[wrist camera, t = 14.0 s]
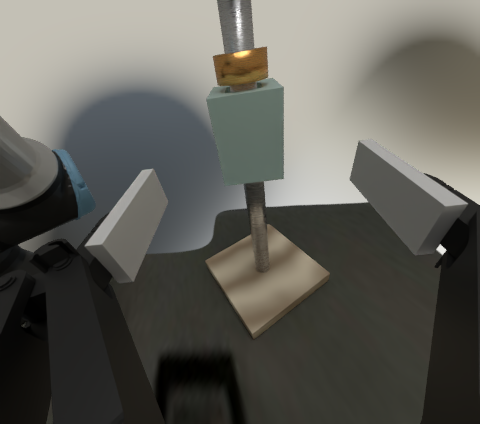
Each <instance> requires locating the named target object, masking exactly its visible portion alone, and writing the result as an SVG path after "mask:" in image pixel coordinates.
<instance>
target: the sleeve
mask: <svg viewBox="0 0 480 424" xmlns="http://www.w3.org/2000/svg"><path fill="white" fill-rule="evenodd" d="M283 91H284V88H283V86H281V85H280V84H279V83H278V82H277V81H276V80H274V79H273V78H270V79H263V80H260V81H257V88H256V89H250V90H243V91H237V92H231V93H230V86H220V87H214V88H213V89H212V91H211V92H210V94H209V96H208V98H207V105H208V109H209V114H210V119H211V124H212V128H213V133H214V138H215V142H216V146H217V151H218V156H219V161H220V166H221V170H222V175H223V180H224V184H225V186H229V185H237V184H246V183H254V182H262V181H269V180H278V179H283V178H284V176H283V175H284V168H283V166H284V161H283V160H284V156H283V155H284V149H283V148H284V147H283V146H284V140H283V139H284V138H283V136H284V135H283V134H284V133H283V132H284V131H283V130H284V125H283V124H284V122H283V121H284V119H283V116H284V115H283V113H284V107H283V106H284V105H283V104H284V100H283V99H284V97H283V96H284V92H283Z"/></svg>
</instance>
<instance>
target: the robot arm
mask: <svg viewBox="0 0 480 424" xmlns="http://www.w3.org/2000/svg"><path fill="white" fill-rule="evenodd" d="M350 181H351V182H352V183H353V184H354V185H355V186H356V188H357V189H358V190H359V191H360V192H361V193H362V195H363V196H364V197H365V198H366V199H367V200H368V202H369V203H370V204H371V205H372V206H373V207H374V208H375V210H376V211H377V212H378V213H379V214H380V215H381V217H382V218H383V219H384V220H385V221H386V222H387V224H388V225H389V226H390V227H391V228H392V229H393V230H394V232H395V233H396V234H397V235H398V236H399V237H400V239H401V240H402V241H403V242H404V243H405V244H406V246H407V247H408V248H409V249H410V250H411V251H412V253H413V254H414V255H422V254H433V253H434V252H435V250H436V249H437V247H438V246H439V245H440V244H441V245H442V246H443V247H444V248H445V249H446V250H447V251H446V252H445V253H444V254H443V256H442V257H441V258H440V260H439V261H438V262H437V263H436V265H435V268H438V267H439V266H440V265H441V273H440V281H439V289H438V297H437V305H436V313H435V321H434V329H433V337H432V345H431V353H430V361H429V369H428V377H427V385H426V393H425V401H424V409H423V416H422V420H421V423H420V424H480V205H478V204H477V203H475V202H474V201H472V200H471V199H469V198H467V197H466V196H464V195H463V194H461V193H460V192H458V191H457V190H454V188H452V187H451V186H449V185H446V183H444V182H443V181H441V180H439V179H438V178H436V177H433V176H431V175H428V174H425V173H421V172H420V171H419V170H417V169H416V168H414V167H413V166H411V165H410V164H408V163H407V162H405V161H404V160H402V159H401V158H399V157H398V156H396V155H395V154H393V153H392V152H390V151H389V150H387V149H386V148H384V147H383V146H381V145H380V144H379V143H377V142H375V141H374V140H372V139H368V140H360V141H359V142H358V146H357V150H356V155H355V159H354V163H353V168H352V172H351V176H350ZM167 204H168V200H167V198H166V196H165V194H164V191H163V189H162V187H161V185H160V182H159V180H158V178H157V176H156V173H155V171H154V169H148V170H142V172H141V173H140V174H139V175H138V177H137V178H136V179H135V181H134V182H133V183H132V185H131V186H130V187H129V188H128V190H127V191H126V192H125V194H124V195H123V196H122V198H121V199H120V200H119V202H118V203H117V204H116V205H115V207H114V208H113V209H112V211H111V212H110V213H108V214H107V215H105V216H104V217H103V218H101V219H100V220H99V222H98V223H97V224H96V226H95V227H94V228H93V229H92V231H91V233H89V234H88V236H87V237H86V238H85V239H84V241H83V242H82V243H81V245H80V246H79V247H78V248H77V250H76V249H74V247H73V246H72V245H71V244H70V243H69V242H68V241H67V240H66V239H57V240H54V241H51V242H48V243H47V244H45V245H43V246H41V247H40V248H39V249H37V250H36V251H35V252H34V253H33V252H30V251H27V250H24V249H22V248H21V247H19V246H18V244H20V243H22V242H25V241H27V240H29V239H32V238H33V237H36V236H38V235H41V234H43V233H45V232H48V231H50V230H52V229H54V228H56V227H59V226H61V225H63V224H66V223H68V222H71V221H73V220H78V219H80V217H82V216H84V215H86V214H88V213H90V212H91V211H93V210H94V209H95V206H96V203H95V200H94V198H93V197H92V195H91V193H90V191H89V189H88V187H87V186H86V184H85V182H84V180H83V178H82V176H81V175H80V173H79V171H78V169H77V167H76V166H75V164H74V162H73V160H72V159H71V157H70V155H69V154H68V152H67V151H66V150H62V149H61V150H52V151H51V150H50V149H49V148H48V147H47V146H45V145H44V144H42V143H40V142H38V141H35V140H32V139H28V138H24V137H21V136H20V135H19V134H18V133H17V132H16V131H15V130H14V129H13V128H12V127H11V126H10V125H9V124H8V123H7V122H6V121H5V120H4V119H3V118H2V117H1V116H0V424H46V421H47V416H48V410H49V405H50V400H51V394H52V410H53V424H165V422H164V419H163V417H162V414H161V411H160V409H159V406H158V404H157V401H156V399H155V396H154V393H153V391H152V388H151V386H150V383H149V380H148V378H147V375H146V373H145V370H144V368H143V365H142V362H141V360H140V357H139V355H138V352H137V350H136V347H135V344H134V342H133V339H132V337H131V334H130V332H129V329H128V326H127V324H126V321H125V319H124V316H123V313H122V311H121V308H120V306H119V303H118V301H117V298H116V295H115V293H114V290H113V288H112V286H111V285H110V284H109V281H110V280H111V278H112V277H113V278H114V279H115V280H116V281H117V282H118V283H126V282H134V279H135V277H136V275H137V272H138V270H139V268H140V266H141V263H142V261H143V259H144V257H145V254H146V252H147V250H148V247H149V245H150V242H151V240H152V238H153V236H154V234H155V231H156V229H157V227H158V225H159V222H160V220H161V217H162V215H163V213H164V211H165V209H166V206H167ZM25 321H27V322H26V325H25V327H21V324H22V323H24V322H25Z"/></svg>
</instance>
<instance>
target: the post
mask: <svg viewBox="0 0 480 424" xmlns="http://www.w3.org/2000/svg"><path fill="white" fill-rule="evenodd" d="M217 3H218V10H219V17H220V23H221V31H222V37H223V44H224V51H225V54H221V55H215V56H213V60H214V66H215V72H216V77H217V83H218V85H219V86H230V93H231V92H237V91H243V90H250V89H256V88H257V81H260V80H263V79H266V78H268V61H267V47H261V48H255V49H254V38H253V23H252V9H251V0H217ZM244 190H245V196H246V204H247V211H248V218H249V224H250V231H251V238H252V245H253V252H254V259H255V266H256V270H257V271H258V272H261V273H265V272H267V271H268V270H269V269H270V262H269V248H268V234H267V220H266V206H265V192H264V181H262V182H254V183H246V184H244Z"/></svg>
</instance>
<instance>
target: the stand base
mask: <svg viewBox="0 0 480 424" xmlns="http://www.w3.org/2000/svg"><path fill="white" fill-rule="evenodd" d="M267 234H268V248H269V262H270V269H269V270H268V271H267V272H265V273H261V272H258V271H257V270H256V266H255V259H254V252H253V245H252V238H251V235H249V236H248V237H246V238H244V239H242V240H241V241H239V242H237V243H235V244H234V245H232V246H230V247H228V248H227V249H225V250H223V251H221V252H220V253H218V254H216V255H214V256H213V257H211V258H209V259H207V260H206V261H205V262H206V265H207V267H208V269H209V270H210V272H211V273H212V275H213V277H214V278H215V280H216V281H217V283H218V284H219V286H220V288H221V289H222V291H223V292H224V294H225V295H226V297H227V299H228V300H229V302H230V303H231V305H232V306H233V308H234V310H235V311H236V313H237V314H238V316H239V317H240V319H241V321H242V322H243V324H244V325H245V327H246V328H247V330H248V332H249V333H250V335H251V336H252V338H253V339H255V338H257V337H258V336H259V335H260V334H262V333H263V332H264V331H265V330H267V329H268V328H269V327H270V326H272V325H273V324H274V323H275V322H277V321H278V320H279V319H281V318H282V317H283V316H284V315H286V314H287V313H288V312H289V311H291V310H292V309H293V308H294V307H296V306H297V305H298V304H299V303H301V302H302V301H303V300H304V299H306V298H307V297H308V296H309V295H311V294H312V293H313V292H314V291H316V290H317V289H318V288H319V287H321V286H322V285H323V284H324V283H326V282H327V281H328V279H329V275H330V273H329V272H328V271H326V270H325V269H324V268H323V267H321V266H320V265H319V264H318V263H317V262H315V261H314V260H313V259H312V258H310V257H309V256H308V255H307V254H305V253H304V252H303V251H302V250H301V249H299V248H298V247H297V246H296V245H294V244H293V243H292V242H291V241H289V240H288V239H287V238H286V237H285V236H283V235H282V234H281V233H280V232H278V231H277V230H276V229H275V228H273V227H272V226H271V225H270V224H269V225H267Z"/></svg>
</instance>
